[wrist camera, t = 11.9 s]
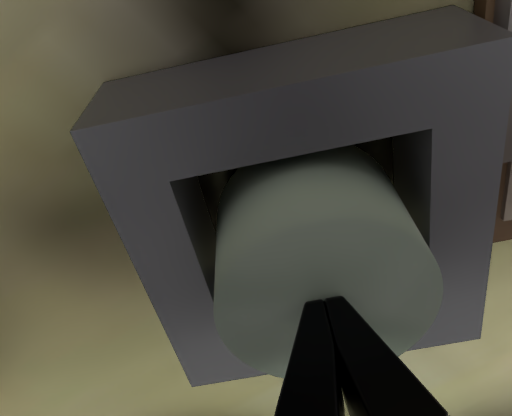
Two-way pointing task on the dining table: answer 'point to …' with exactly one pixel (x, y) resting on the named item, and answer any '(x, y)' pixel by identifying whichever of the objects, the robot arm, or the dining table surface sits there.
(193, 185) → the button housing
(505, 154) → the clipboard
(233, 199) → the button
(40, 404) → the dining table surface
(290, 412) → the robot arm
